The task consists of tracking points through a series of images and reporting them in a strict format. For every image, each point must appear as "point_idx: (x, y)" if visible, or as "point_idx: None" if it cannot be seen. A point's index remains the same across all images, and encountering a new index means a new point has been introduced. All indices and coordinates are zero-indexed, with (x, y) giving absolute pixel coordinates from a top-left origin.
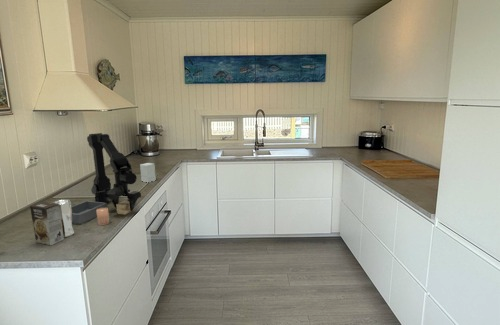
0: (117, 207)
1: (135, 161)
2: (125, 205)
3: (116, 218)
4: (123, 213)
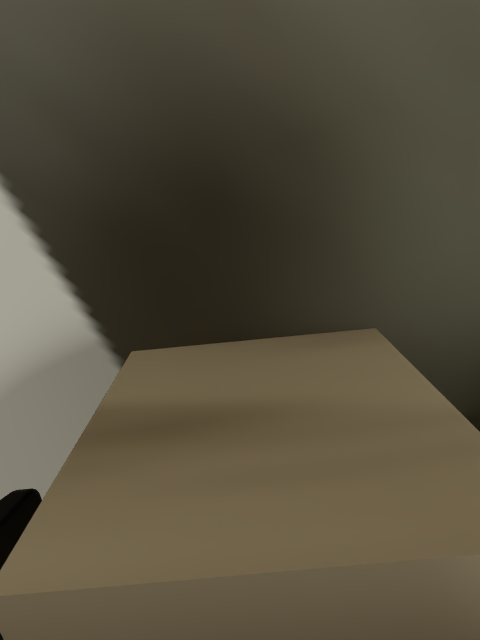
0: (432, 433)
1: None
2: (35, 624)
3: (91, 12)
4: (180, 357)
